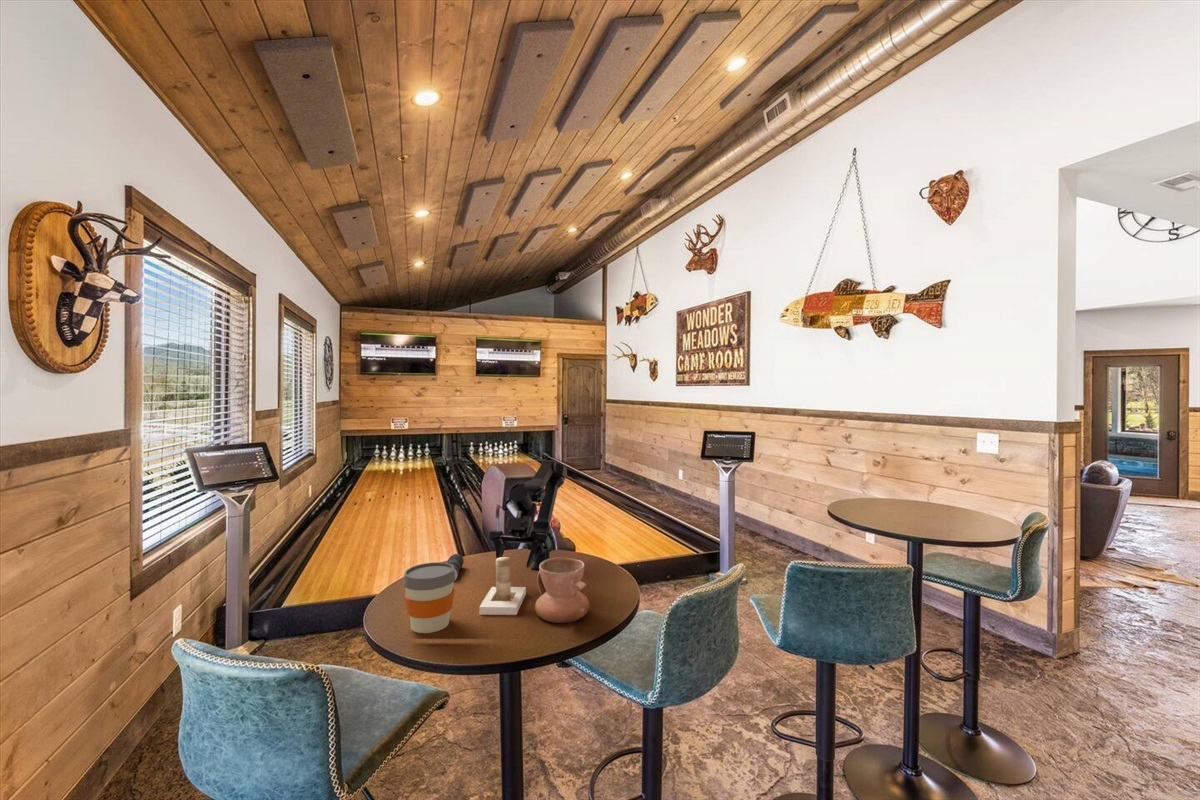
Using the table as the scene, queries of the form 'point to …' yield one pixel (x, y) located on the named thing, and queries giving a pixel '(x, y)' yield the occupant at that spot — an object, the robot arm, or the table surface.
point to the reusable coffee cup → (429, 595)
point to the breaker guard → (502, 602)
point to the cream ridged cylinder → (503, 579)
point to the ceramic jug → (561, 590)
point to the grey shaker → (456, 563)
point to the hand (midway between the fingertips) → (512, 566)
